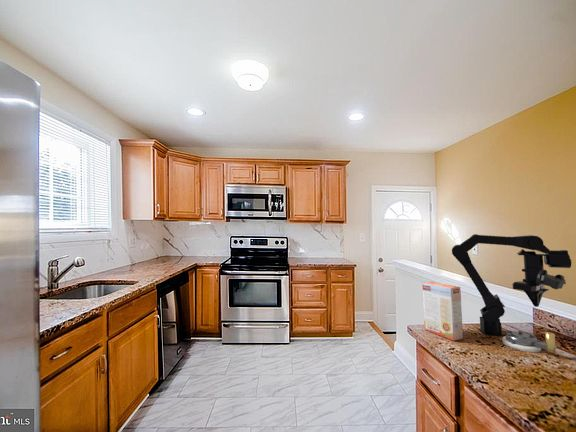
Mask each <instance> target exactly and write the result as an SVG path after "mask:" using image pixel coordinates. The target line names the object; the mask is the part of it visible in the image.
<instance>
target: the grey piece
mask: <svg viewBox="0 0 576 432" xmlns="http://www.w3.org/2000/svg"><path fill="white" fill-rule="evenodd" d="M544 335H545V337H544V338H545V343H544V342H539V341H538V338H537V337H536V335H535V334H533V333H527V332H523V330H519V329H518V330H517V331H514V330H513V331H512V330H509V329H508V330H506V332H505V336H506V340H507V341H509V342H511V343H514V344H518V345H522V346H537V347H540V348H541V349H543V350H545V351H546V352H549V353H552V354H553V353H554V354H555V353H557V346H556V334H555V333H553V332H550V331H546V332H544Z"/></svg>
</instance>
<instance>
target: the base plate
mask: <svg viewBox="0 0 576 432" xmlns="http://www.w3.org/2000/svg"><path fill="white" fill-rule="evenodd" d="M501 339H502V344H503V345H504V346H506V347H508V348H511V349H513V350H516V351H521V352H526V353H527V352H528V353H539V352H541V351H542V348H540V347H537V346H522V345H518V344H514V343H511V342H509V341H507V340H506V335H505V336H504V335H503V336H502V338H501Z"/></svg>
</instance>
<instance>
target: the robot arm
mask: <svg viewBox="0 0 576 432" xmlns="http://www.w3.org/2000/svg"><path fill="white" fill-rule="evenodd" d="M478 244H484V245H498V246H499V245H501V246H509V247H510V246H512V247H516V248H521V250H519V251H518V252H517V253H516V255H517V256H523V265H524V266H523V268H521V272H524V278H522V281H521V280H520V281H518V280H517V281H514V282H513V283H512V284H511V285H512V289H513V290H516V291H517V290H518V291H523V292H524V293H525V294H526V295H527V297H528V299H529V300H530V302H531V303H532V305H533V307H536V308H537V307H539V306H540V304H541V300H542V297H543V295H544V293H546V292H547V291H550V289H548V288H545V286H547V287H550V288H551V289H554V290H560V289H561V290H562V289H563V287H564V285H566V284H567V282H566V279H565V276H564V275H562V274H556V275H553V274H552V275H551V274H548V271H547V269H544V265H545V266H546V265H547V266H548V268H555V269H570V268H572V259H571V256H570V254H569V251H568V250H566V249H560V250H558V249H557V250H550V249H549V248H548V247H547V246H546V245H545V244H544V241H543V238H541V237H539V236H538V235H531V234H529V235H527V234H526V235H516V236H504V235H487V234H486V235H484V234H476V233H475V234H472V235H471V236H470V237H468V238H467V239H466V240H464V241H463V242H461V243H460V244H455V245H454V246H453V247H452V249H451V254H452V256H453V257H454V258H455V259H456V260H457V262H459V263H460V265H462V266H463V268H464V270H465V271H466V273H467V275H468V276H469V278H470V280H471V281H472V283H473V284H474V286H475V288H476V289H477V291H478V292H479V294H480V296H481V297H482V301H483V302H484V303H483V304H484V305H485V306H483V307H482V308H481V309H480V310H479V311H480V314H481V316H479V326H480V327H479V328H478V329H477V330H478V331H479V332H481V333H482V334H484V335H485V336H494V337H495V336H498V337H499V336H501V337H504V334H503V330H502V329H503V327H502V322H501V319H500V318H501V317H503V316H504V315H505V313H506V311H505V307H506V306H505V304H504V302H502V301H501V299H500V297H499V295H498V294H495V295H494V294H493V293H492V292H491V291H490V290H489V288H488V287H487V285H486V283H485V282H484V280H483V279H482V277H481V275H480V273H479V272H478V271H477V269H476V267H475V266H474V264H473V262H472V260H471V257H470V255H469V251H471V250H472V249H473V248H474V247H475V246H477V245H478ZM536 252H539V253H536Z"/></svg>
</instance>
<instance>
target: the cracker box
mask: <svg viewBox="0 0 576 432" xmlns="http://www.w3.org/2000/svg"><path fill="white" fill-rule="evenodd" d="M461 293H462V292H461V287H460V286H456V285H451V284H447V283H442V282H441V283H440V282H435V281H425V282H422V302H423V305H422V306H423V326H424V331H427V332H429V333H432V334H434V335H437V336H440V337H442V338H445V339H448V340H449V341H453V342H454V341H460V340H463V339H464V330H463V329H464V328H463V312H462V296H461V295H462V294H461Z"/></svg>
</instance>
